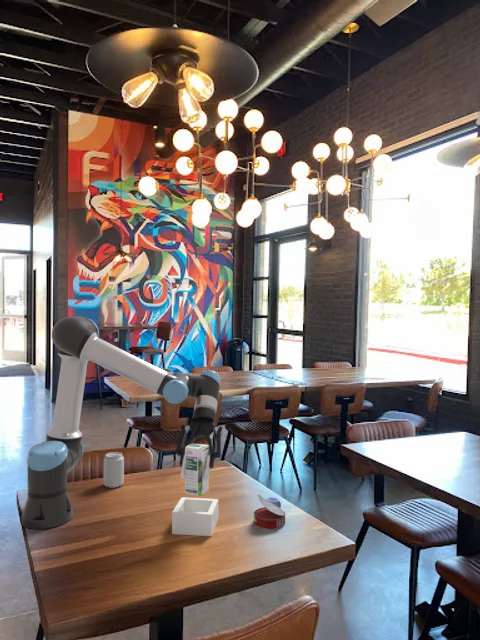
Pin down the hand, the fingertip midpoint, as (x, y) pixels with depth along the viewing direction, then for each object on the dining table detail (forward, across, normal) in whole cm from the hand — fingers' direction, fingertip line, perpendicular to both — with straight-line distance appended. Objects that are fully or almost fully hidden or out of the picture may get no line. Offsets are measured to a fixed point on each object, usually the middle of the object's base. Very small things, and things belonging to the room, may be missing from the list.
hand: (194, 476), depth 148 cm
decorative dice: (-1, -23, -25) cm, 34 cm away
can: (-13, +39, -36) cm, 55 cm away
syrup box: (+2, 0, -7) cm, 7 cm away
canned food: (+5, -22, -19) cm, 30 cm away
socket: (+9, 0, -14) cm, 17 cm away
